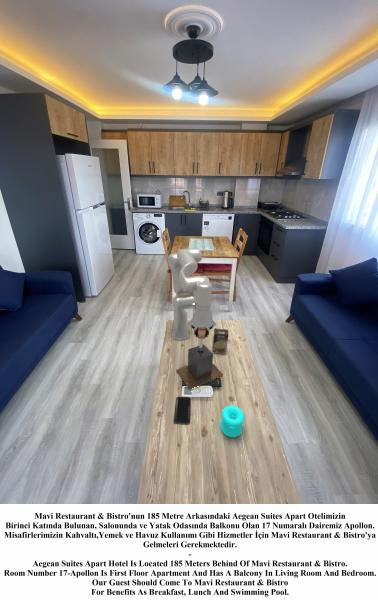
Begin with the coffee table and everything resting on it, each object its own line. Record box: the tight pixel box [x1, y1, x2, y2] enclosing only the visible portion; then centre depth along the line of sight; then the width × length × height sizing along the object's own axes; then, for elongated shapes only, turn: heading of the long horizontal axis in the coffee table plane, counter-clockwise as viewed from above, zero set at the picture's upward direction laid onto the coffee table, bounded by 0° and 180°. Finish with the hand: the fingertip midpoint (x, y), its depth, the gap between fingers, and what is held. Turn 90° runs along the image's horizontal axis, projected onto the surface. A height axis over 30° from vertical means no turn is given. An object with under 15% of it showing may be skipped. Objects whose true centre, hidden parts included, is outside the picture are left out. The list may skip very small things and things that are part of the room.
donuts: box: [219, 405, 246, 438], centre depth 109 cm, size 10×10×10 cm
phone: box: [173, 396, 192, 425], centre depth 119 cm, size 8×1×15 cm
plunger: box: [196, 327, 207, 354], centre depth 131 cm, size 8×8×21 cm
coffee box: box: [211, 327, 229, 356], centre depth 156 cm, size 9×6×16 cm
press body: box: [175, 343, 224, 390], centre depth 137 cm, size 16×22×16 cm
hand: (201, 335), depth 129 cm, fingers closed on plunger, 5 cm apart
